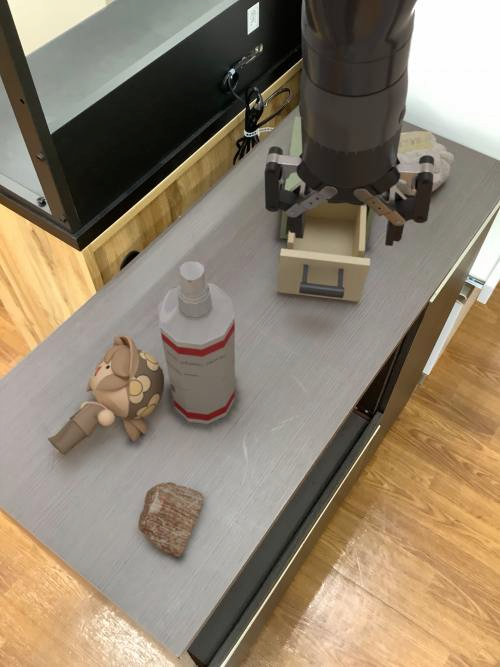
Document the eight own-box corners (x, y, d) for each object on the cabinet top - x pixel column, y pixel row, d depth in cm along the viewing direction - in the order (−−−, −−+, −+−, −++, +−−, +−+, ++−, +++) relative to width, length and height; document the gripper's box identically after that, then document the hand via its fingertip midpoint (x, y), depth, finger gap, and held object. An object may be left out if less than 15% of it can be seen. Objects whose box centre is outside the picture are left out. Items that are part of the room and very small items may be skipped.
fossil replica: (459, 187, 99) (413, 156, 104) (476, 141, 93) (425, 111, 97) (407, 215, 94) (361, 182, 99) (420, 169, 88) (370, 136, 92)
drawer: (358, 328, 83) (369, 292, 76) (273, 317, 83) (276, 281, 77) (363, 223, 93) (372, 184, 86) (287, 215, 93) (290, 175, 87)
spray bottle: (166, 418, 76) (140, 297, 55) (178, 366, 80) (158, 233, 59) (230, 427, 75) (228, 307, 54) (238, 373, 80) (240, 243, 59)
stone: (160, 555, 69) (186, 561, 66) (120, 534, 66) (146, 539, 63) (185, 494, 73) (212, 497, 69) (148, 472, 70) (174, 474, 66)
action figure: (18, 407, 72) (117, 328, 78) (77, 475, 76) (168, 394, 81) (33, 419, 64) (144, 328, 69) (99, 495, 67) (200, 402, 72)
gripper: (454, 75, 46) (421, 208, 61) (264, 67, 48) (277, 197, 63) (450, 155, 43) (417, 274, 58) (248, 143, 45) (265, 261, 60)
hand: (344, 234), depth 60 cm, fingers open, 8 cm apart
